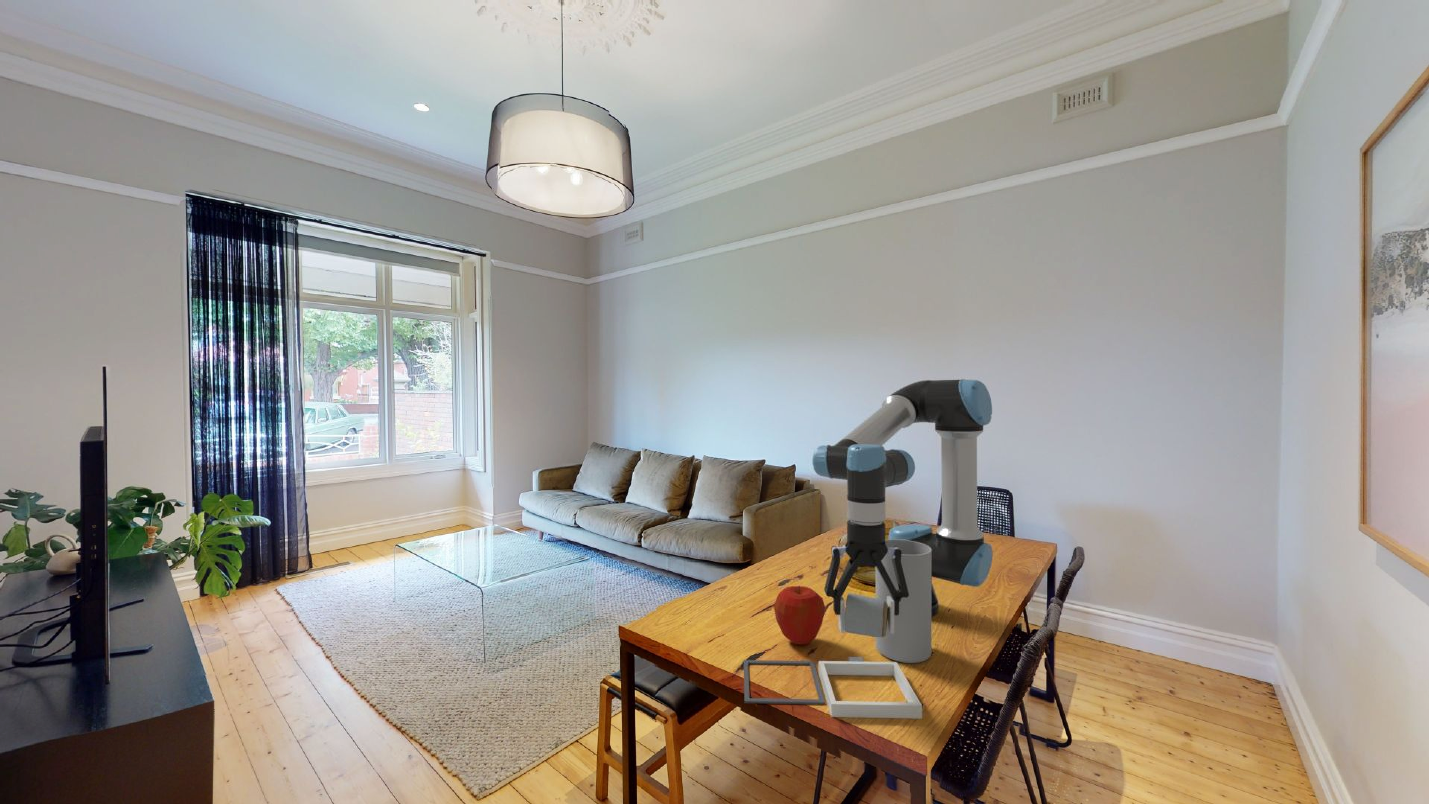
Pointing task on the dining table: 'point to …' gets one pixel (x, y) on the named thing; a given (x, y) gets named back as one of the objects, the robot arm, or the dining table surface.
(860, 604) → the ceramic mug
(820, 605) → the apple
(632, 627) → the dining table surface
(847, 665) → the socket
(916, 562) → the cylinder vase
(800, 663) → the tray outline
